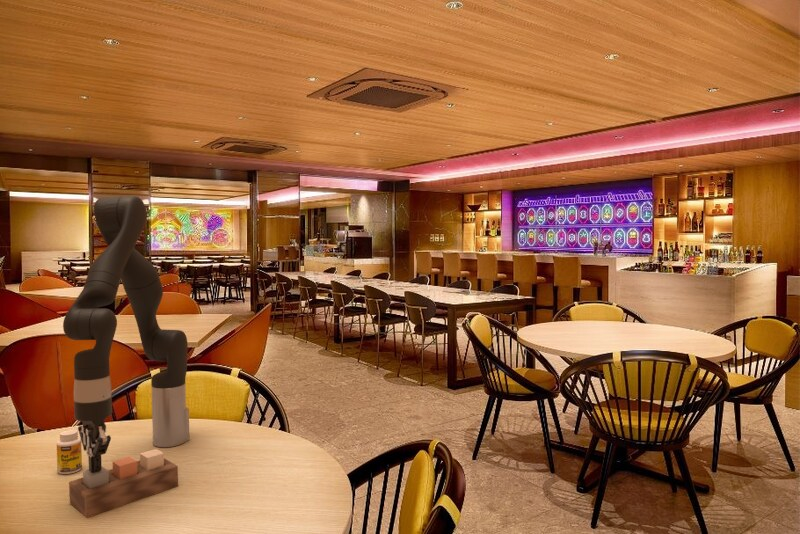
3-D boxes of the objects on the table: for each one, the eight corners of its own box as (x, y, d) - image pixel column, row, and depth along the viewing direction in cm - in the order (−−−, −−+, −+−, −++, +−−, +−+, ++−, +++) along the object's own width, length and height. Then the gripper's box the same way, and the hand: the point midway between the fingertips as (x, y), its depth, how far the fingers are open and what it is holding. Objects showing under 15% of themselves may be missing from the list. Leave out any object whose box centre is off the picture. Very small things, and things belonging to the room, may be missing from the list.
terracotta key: (130, 472, 140) (129, 456, 140) (137, 477, 138) (136, 461, 137) (112, 478, 137) (112, 461, 137) (120, 483, 135) (119, 466, 134)
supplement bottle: (58, 477, 147) (56, 437, 146) (56, 469, 152) (55, 431, 151) (83, 472, 150) (81, 433, 149) (81, 464, 155) (79, 427, 154)
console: (158, 474, 149) (158, 455, 149) (178, 485, 142) (177, 465, 142) (69, 502, 133) (68, 481, 133) (86, 517, 127) (85, 495, 126)
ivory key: (156, 464, 145) (155, 448, 145) (163, 469, 143) (163, 453, 142) (140, 469, 142) (139, 453, 142) (147, 474, 140) (147, 457, 139)
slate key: (101, 482, 136) (101, 465, 135) (108, 487, 133) (108, 470, 133) (83, 488, 133) (82, 471, 132) (90, 493, 130) (89, 476, 130)
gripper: (122, 398, 130) (124, 474, 131) (98, 387, 138) (100, 458, 140) (86, 406, 124) (89, 485, 125) (64, 394, 133) (66, 468, 134)
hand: (95, 471), depth 132 cm, fingers closed
